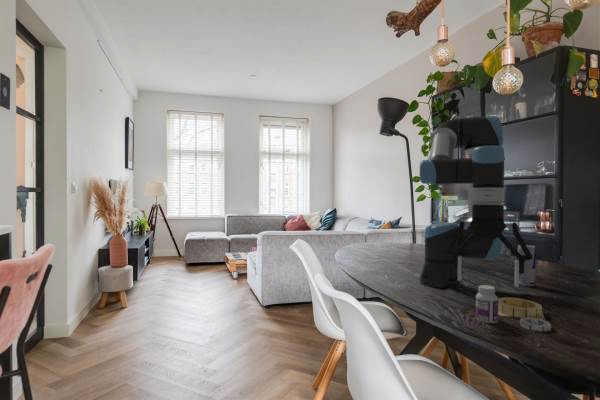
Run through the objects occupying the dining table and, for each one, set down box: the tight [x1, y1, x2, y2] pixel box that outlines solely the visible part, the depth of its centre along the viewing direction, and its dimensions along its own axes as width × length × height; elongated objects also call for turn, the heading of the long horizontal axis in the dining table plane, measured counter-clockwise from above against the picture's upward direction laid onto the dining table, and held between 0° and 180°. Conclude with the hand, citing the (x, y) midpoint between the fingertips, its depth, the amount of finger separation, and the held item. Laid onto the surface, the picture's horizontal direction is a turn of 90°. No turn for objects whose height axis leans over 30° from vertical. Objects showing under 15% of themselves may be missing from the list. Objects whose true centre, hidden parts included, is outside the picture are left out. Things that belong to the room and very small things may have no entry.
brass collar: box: [498, 297, 543, 319], centre depth 102 cm, size 11×11×2 cm
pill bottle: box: [475, 284, 499, 324], centre depth 96 cm, size 5×5×10 cm
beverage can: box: [517, 244, 536, 287], centre depth 134 cm, size 6×6×15 cm
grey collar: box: [519, 317, 552, 333], centre depth 90 cm, size 6×6×2 cm
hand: (487, 282), depth 95 cm, fingers open, 13 cm apart
